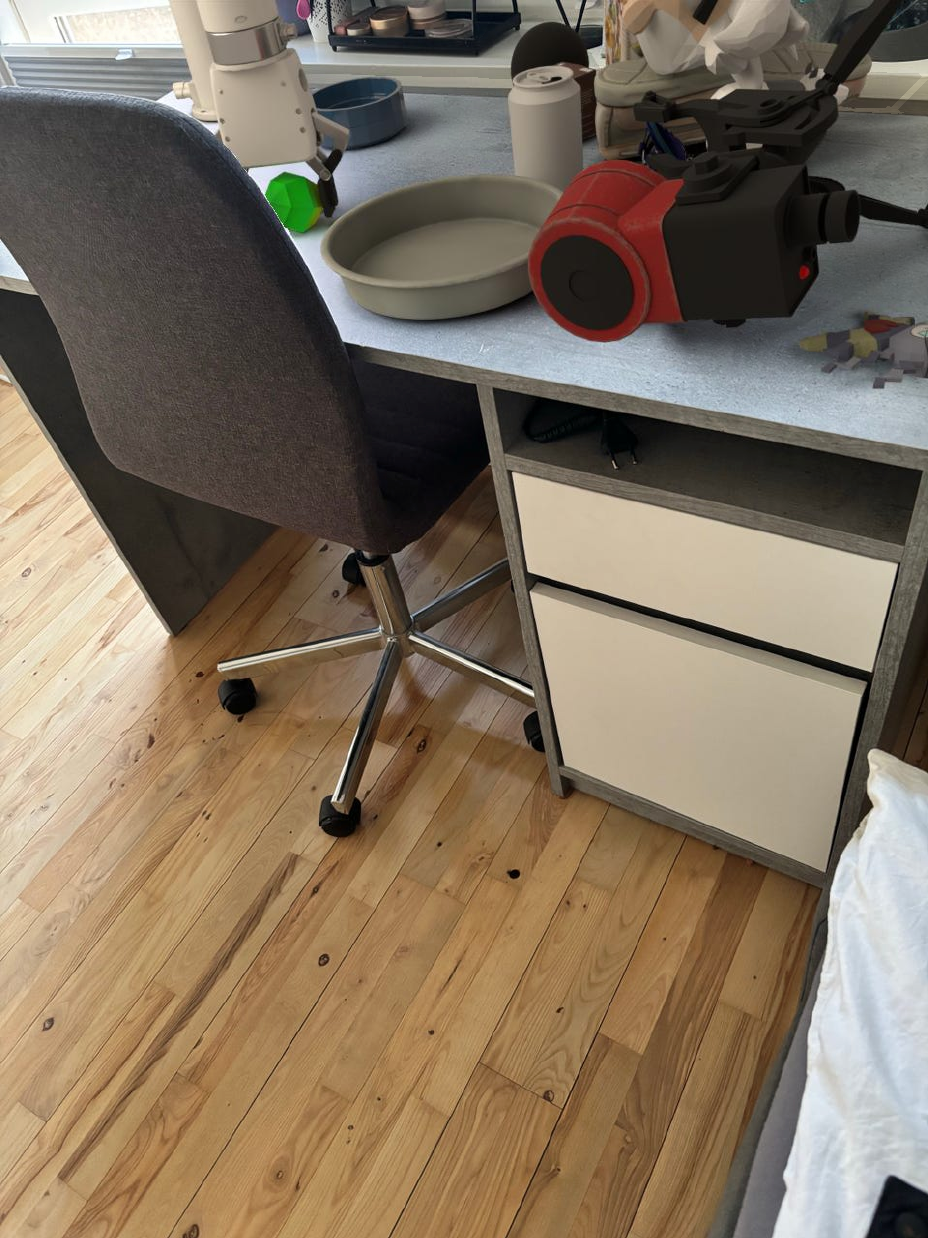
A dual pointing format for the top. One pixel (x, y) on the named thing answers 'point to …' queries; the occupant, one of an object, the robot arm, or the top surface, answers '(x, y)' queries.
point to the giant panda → (787, 88)
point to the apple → (294, 201)
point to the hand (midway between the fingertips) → (293, 216)
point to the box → (585, 96)
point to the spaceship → (660, 144)
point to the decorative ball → (548, 48)
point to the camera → (708, 213)
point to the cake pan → (441, 245)
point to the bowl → (363, 109)
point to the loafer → (690, 93)
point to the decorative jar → (619, 35)
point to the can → (546, 125)
